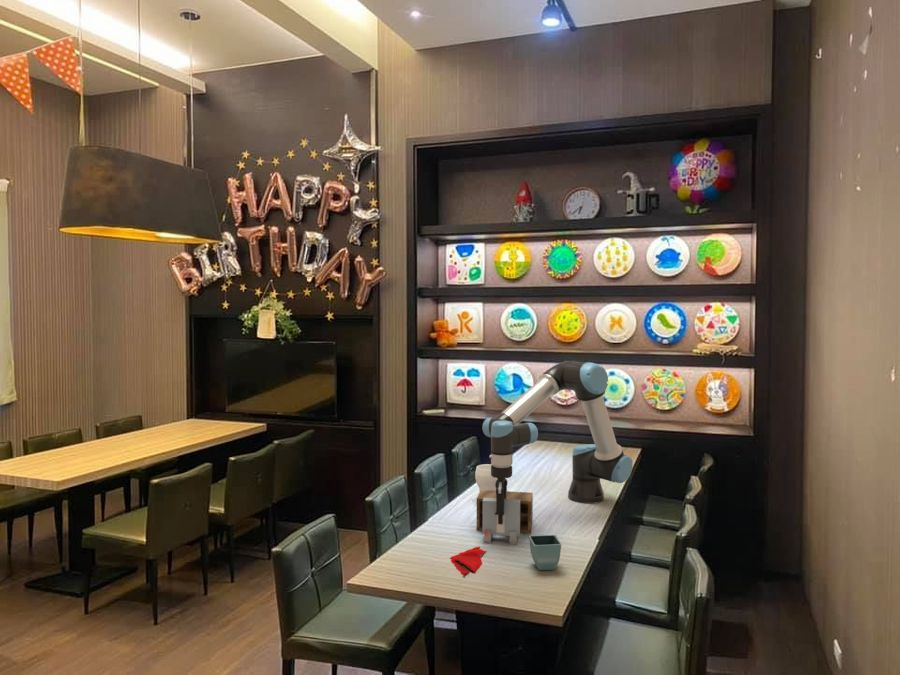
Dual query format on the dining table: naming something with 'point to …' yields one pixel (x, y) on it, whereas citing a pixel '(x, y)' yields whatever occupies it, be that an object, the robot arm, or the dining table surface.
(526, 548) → the dining table surface
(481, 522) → the cabinet
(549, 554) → the flower pot
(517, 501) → the door
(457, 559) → the cloth
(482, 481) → the cup
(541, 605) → the dining table surface
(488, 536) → the hinge clips
